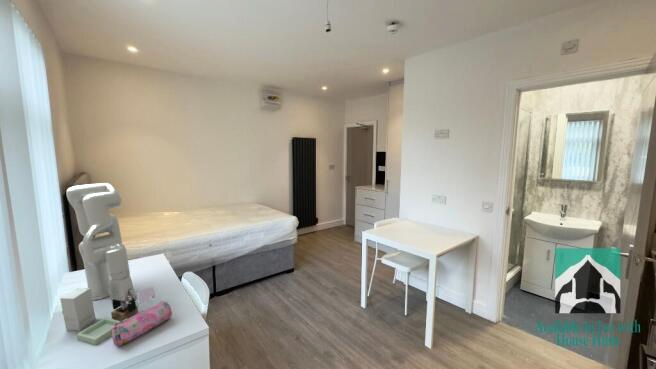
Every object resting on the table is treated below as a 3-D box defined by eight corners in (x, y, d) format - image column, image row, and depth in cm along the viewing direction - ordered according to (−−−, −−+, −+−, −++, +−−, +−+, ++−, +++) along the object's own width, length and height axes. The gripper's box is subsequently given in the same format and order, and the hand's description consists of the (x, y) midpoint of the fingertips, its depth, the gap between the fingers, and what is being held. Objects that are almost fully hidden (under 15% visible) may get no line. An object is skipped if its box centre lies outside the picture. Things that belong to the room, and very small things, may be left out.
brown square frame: (112, 319, 122) (111, 312, 121) (127, 310, 128) (126, 303, 128) (123, 321, 119) (122, 314, 119) (138, 312, 126) (137, 305, 126)
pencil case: (118, 352, 102) (114, 330, 101) (108, 343, 107) (105, 322, 105) (174, 320, 120) (172, 302, 118) (164, 314, 125) (162, 296, 123)
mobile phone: (153, 285, 149) (156, 297, 137) (153, 287, 149) (156, 299, 137) (137, 290, 144) (138, 303, 133) (137, 292, 145) (138, 304, 133)
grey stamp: (118, 317, 123) (116, 300, 121) (126, 312, 126) (124, 296, 125) (124, 318, 122) (121, 301, 120) (132, 314, 125) (129, 297, 124)
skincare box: (83, 318, 123) (77, 287, 120) (97, 318, 122) (91, 287, 120) (65, 331, 114) (58, 297, 112) (79, 331, 114) (73, 297, 112)
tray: (77, 339, 109) (76, 334, 108) (106, 322, 119) (105, 317, 119) (95, 345, 106) (94, 339, 105) (124, 327, 116) (123, 321, 116)
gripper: (97, 276, 120) (103, 311, 122) (124, 280, 114) (130, 316, 117) (114, 268, 127) (120, 302, 129) (141, 272, 122) (146, 307, 124)
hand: (125, 309), depth 123 cm, fingers open, 9 cm apart
